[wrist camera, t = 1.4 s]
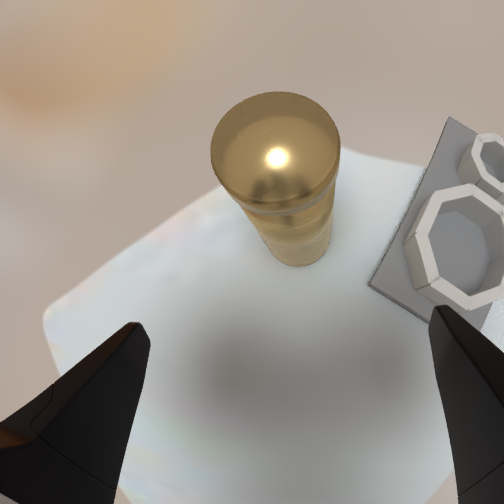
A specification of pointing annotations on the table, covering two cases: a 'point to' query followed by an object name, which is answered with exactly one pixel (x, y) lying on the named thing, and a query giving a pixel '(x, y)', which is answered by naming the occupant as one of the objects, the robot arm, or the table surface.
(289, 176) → the gold metal cylinder
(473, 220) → the manifold plate
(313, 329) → the table surface
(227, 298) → the table surface
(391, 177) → the table surface
